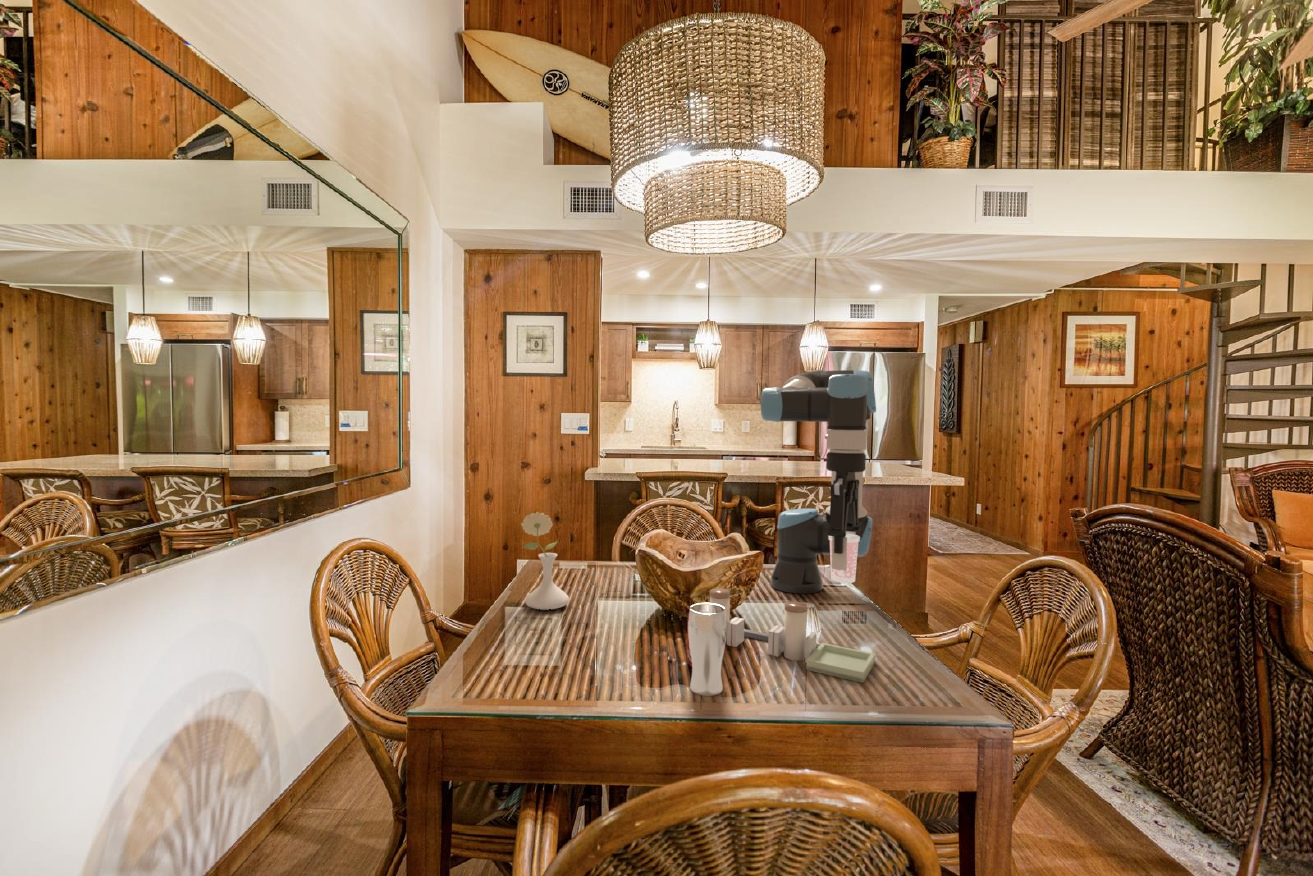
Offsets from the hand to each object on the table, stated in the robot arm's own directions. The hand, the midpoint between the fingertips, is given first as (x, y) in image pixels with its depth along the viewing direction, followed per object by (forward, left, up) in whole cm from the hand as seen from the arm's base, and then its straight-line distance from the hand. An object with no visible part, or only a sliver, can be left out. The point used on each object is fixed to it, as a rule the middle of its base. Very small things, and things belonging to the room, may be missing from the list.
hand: (843, 565), depth 121 cm
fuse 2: (0, -10, -21) cm, 23 cm away
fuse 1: (0, -27, -21) cm, 34 cm away
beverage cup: (0, 0, -3) cm, 3 cm away
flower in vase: (+4, -76, -21) cm, 79 cm away
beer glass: (+24, -19, -21) cm, 37 cm away
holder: (-2, -19, -21) cm, 28 cm away
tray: (0, 0, -21) cm, 21 cm away
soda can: (+15, -24, -21) cm, 35 cm away
